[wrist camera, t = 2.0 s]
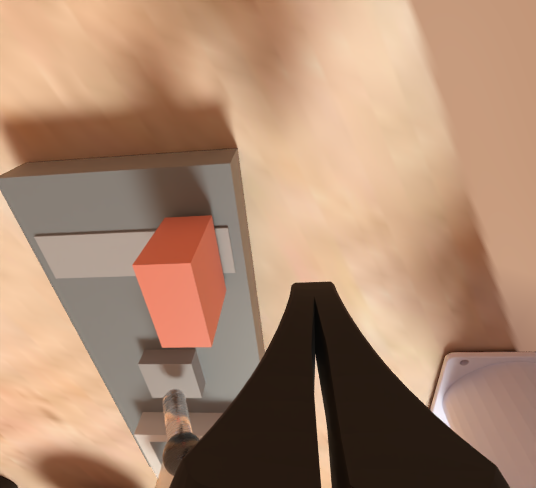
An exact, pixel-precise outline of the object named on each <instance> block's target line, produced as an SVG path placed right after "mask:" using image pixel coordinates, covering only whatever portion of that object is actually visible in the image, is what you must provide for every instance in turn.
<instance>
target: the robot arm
mask: <svg viewBox="0 0 536 488" xmlns="http://www.w3.org/2000/svg"><path fill="white" fill-rule="evenodd" d="M315 354H316V361H317V367H318V373H319V379H320V385H321V391H322V397H323V403H324V409H325V415H326V422H327V430H328V443H329V456H330V469H331V482H332V488H536V352H453V353H449V354H448V355H446V356H445V358H444V362H443V365H442V369H441V373H440V376H439V380H438V383H437V387H436V390H435V394H434V397H433V401H432V405H431V408H430V409H429V408H428V407H427V406H425V405H424V404H423V403H422V402H421V401H420V400H419V399H418V398H417V397H416V396H415V395H414V394H413V393H412V392H411V391H410V390H409V389H408V388H407V387H406V386H405V385H404V384H403V383H402V382H401V381H400V380H399V378H398V377H397V376H396V375H395V374H394V373H393V372H392V371H391V370H390V368H389V367H388V366H387V365H386V364H385V363H384V362H383V360H382V359H381V358H380V357H379V355H378V354H377V353H376V352H375V350H374V349H373V348H372V346H371V345H370V344H369V342H368V341H367V340H366V338H365V337H364V336H363V334H362V333H361V331H360V330H359V328H358V327H357V325H356V324H355V322H354V321H353V319H352V318H351V316H350V315H349V313H348V311H347V310H346V308H345V306H344V304H343V302H342V301H341V299H340V297H339V295H338V293H337V290H336V288H335V286H334V284H333V283H332V282H306V283H294V284H293V285H292V286H291V292H290V297H289V300H288V303H287V306H286V309H285V312H284V314H283V317H282V319H281V321H280V324H279V326H278V329H277V331H276V333H275V335H274V337H273V339H272V341H271V343H270V345H269V347H268V349H267V350H266V352H265V354H264V356H263V357H262V359H261V361H260V362H259V364H258V366H257V367H256V369H255V371H254V372H253V374H252V375H251V377H250V378H249V379H248V381H247V382H246V384H245V385H244V387H243V388H242V390H241V391H240V392H239V394H238V395H237V396H236V398H235V399H234V400H233V402H232V403H231V404H230V405H229V406H228V408H227V409H226V410H225V411H224V413H223V414H222V415H221V416H220V418H219V419H218V420H217V421H216V422H215V424H214V425H213V426H212V427H211V428H210V429H209V430H208V431H207V432H206V434H205V435H204V436H203V437H202V438H201V439H200V440H199V441H198V442H197V443H196V444H195V445H194V446H193V447H192V448H191V449H190V450H189V452H188V453H187V454H186V455H185V456H184V457H183V458H182V460H181V462H180V464H179V466H178V468H177V470H176V473H175V475H174V477H173V480H172V482H171V485H170V487H169V488H321V480H320V467H319V454H318V441H317V428H316V414H315V401H314V379H315Z"/></svg>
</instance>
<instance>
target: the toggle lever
mask: <svg viewBox="0 0 536 488" xmlns="http://www.w3.org/2000/svg"><path fill="white" fill-rule="evenodd" d="M162 405H163V412H164V420H165V428H166V435H167V443H166V445H165V447H164V450H163V464H164V467H165V469H166V470H167V472H168V473H170V474H171V475H173V476H174V475H175V473H176V470H177V468H178V466H179V464H180V462H181V460H182V458H183V457H184V456H185V455H186V454H187V453H188V452H189V450H190V449H191V448H192V447H193V446H194V445H195V444H196V443H197V442H198V441H199V438H198V437H197V436H196V435H195V434H193V432H192V427H191V422H190V417H189V412H188V407H187V402H186V397H185V395H184V393H183V392H182V391H181V390H179V389H172V390H169V391H168V392H167V393H166V394H165V395H164V397H163V401H162Z"/></svg>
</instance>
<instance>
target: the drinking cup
mask: <svg viewBox="0 0 536 488" xmlns="http://www.w3.org/2000/svg"><path fill="white" fill-rule="evenodd" d="M0 488H18V487H17V486H16V485H15V484H14V483H13V482H11V481H9V480H8V479H5V478H3V477H0Z"/></svg>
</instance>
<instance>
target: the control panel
mask: <svg viewBox="0 0 536 488" xmlns="http://www.w3.org/2000/svg"><path fill="white" fill-rule="evenodd" d="M0 190H1V192H2V194H3V196H4V198H5V199H6V201H7V203H8V205H9V207H10V209H11V211H12V212H13V214H14V216H15V218H16V220H17V222H18V224H19V225H20V227H21V229H22V231H23V233H24V235H25V237H26V238H27V240H28V242H29V244H30V246H31V248H32V250H33V251H34V253H35V255H36V257H37V259H38V261H39V262H40V264H41V266H42V268H43V270H44V272H45V274H46V275H47V277H48V279H49V281H50V283H51V285H52V287H53V288H54V290H55V292H56V294H57V296H58V298H59V300H60V301H61V303H62V305H63V307H64V309H65V311H66V313H67V314H68V316H69V318H70V320H71V322H72V324H73V326H74V327H75V329H76V331H77V333H78V335H79V337H80V339H81V340H82V342H83V344H84V346H85V348H86V350H87V351H88V353H89V355H90V357H91V359H92V361H93V363H94V364H95V366H96V368H97V370H98V372H99V374H100V376H101V377H102V379H103V381H104V383H105V385H106V387H107V389H108V390H109V392H110V394H111V396H112V398H113V400H114V402H115V403H116V405H117V407H118V409H119V411H120V413H121V415H122V416H123V418H124V420H125V422H126V424H127V426H128V428H129V429H130V431H131V433H132V435H133V437H134V439H135V440H136V442H137V444H138V446H139V448H140V450H141V452H142V453H143V455H144V457H145V459H146V461H147V463H148V465H149V466H150V467H151V468H152V469H153V471H154V473H155V475H156V477H157V479H158V476H159V473H160V470H161V466H162V463H163V450H164V447H165V445H166V443H167V435H166V428H165V420H164V412H163V405H162V401H163V397H164V395H165V394H166V393H167V392H168V391H169V390H172V389H179V390H181V391H182V392H183V393H184V395H185V397H186V402H187V407H188V412H189V417H190V422H191V427H192V432H193V434H195V435H196V436H197V437H198V438H199V440H200V439H201V438H202V437H203V436H204V435H205V434H206V432H207V431H208V430H209V429H210V428H211V427H212V426H213V425H214V424H215V422H216V421H217V420H218V419H219V418H220V416H221V415H222V414H223V413H224V411H225V410H226V409H227V408H228V406H229V405H230V404H231V403H232V402H233V400H234V399H235V398H236V396H237V395H238V394H239V392H240V391H241V390H242V388H243V387H244V385H245V384H246V382H247V381H248V379H249V378H250V377H251V375H252V374H253V372H254V371H255V369H256V367H257V366H258V364H259V362H260V361H261V359H262V357H263V356H264V354H265V350H264V343H263V335H262V328H261V321H260V313H259V306H258V298H257V291H256V283H255V276H254V268H253V261H252V254H251V246H250V239H249V231H248V224H247V216H246V209H245V201H244V194H243V187H242V179H241V172H240V164H239V157H238V149H237V148H234V149H219V150H204V151H190V152H175V153H161V154H146V155H131V156H117V157H102V158H88V159H73V160H58V161H44V162H29V163H25V164H23V165H21V166H18V167H16V168H14V169H12V170H10V171H8V172H6V173H4V174H2V175H0ZM208 215H212V219H213V224H214V229H215V235H216V240H217V245H218V250H219V255H220V260H221V265H222V271H223V276H224V281H225V286H226V294H225V298H224V302H223V306H222V310H221V313H220V317H219V321H218V325H217V329H216V333H215V337H214V341H213V344H212V347H182V348H162V346H161V343H160V340H159V338H158V335H157V332H156V329H155V327H154V324H153V321H152V318H151V316H150V313H149V310H148V307H147V305H146V302H145V299H144V296H143V294H142V291H141V288H140V286H139V283H138V280H137V277H136V275H135V272H134V269H133V266H132V265H133V263H134V262H135V260H136V259H137V257H138V256H139V254H140V253H141V252H142V250H143V249H144V247H145V246H146V244H147V243H148V241H149V240H150V238H151V237H152V236H153V234H154V233H155V231H156V230H157V228H158V227H159V225H160V224H161V223H162V221H163V220H164V218H167V217H188V216H208Z"/></svg>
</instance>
